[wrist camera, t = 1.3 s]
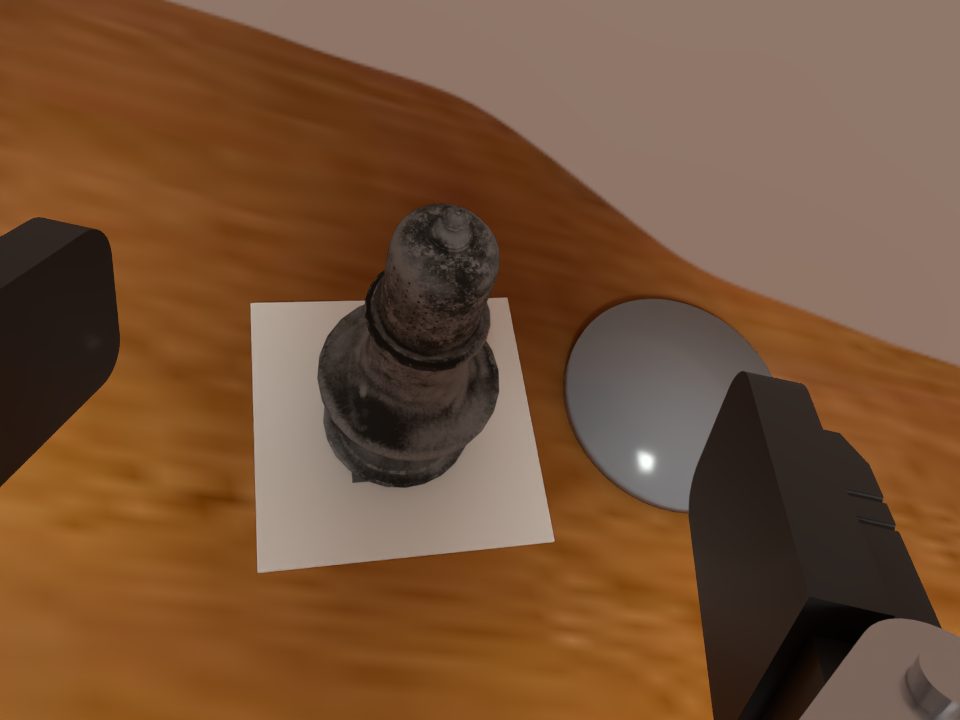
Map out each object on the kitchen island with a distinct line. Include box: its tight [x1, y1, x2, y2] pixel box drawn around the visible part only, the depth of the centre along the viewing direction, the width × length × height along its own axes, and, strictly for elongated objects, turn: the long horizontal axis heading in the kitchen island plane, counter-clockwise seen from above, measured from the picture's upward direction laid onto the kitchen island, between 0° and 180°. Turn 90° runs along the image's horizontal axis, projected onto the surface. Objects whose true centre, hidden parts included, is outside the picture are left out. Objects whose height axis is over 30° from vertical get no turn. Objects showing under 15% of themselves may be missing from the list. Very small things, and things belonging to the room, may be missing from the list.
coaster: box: [564, 299, 772, 513], centre depth 31 cm, size 9×9×1 cm
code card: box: [251, 298, 555, 573], centre depth 28 cm, size 10×10×1 cm
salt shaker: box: [317, 203, 500, 488], centre depth 23 cm, size 6×6×12 cm
